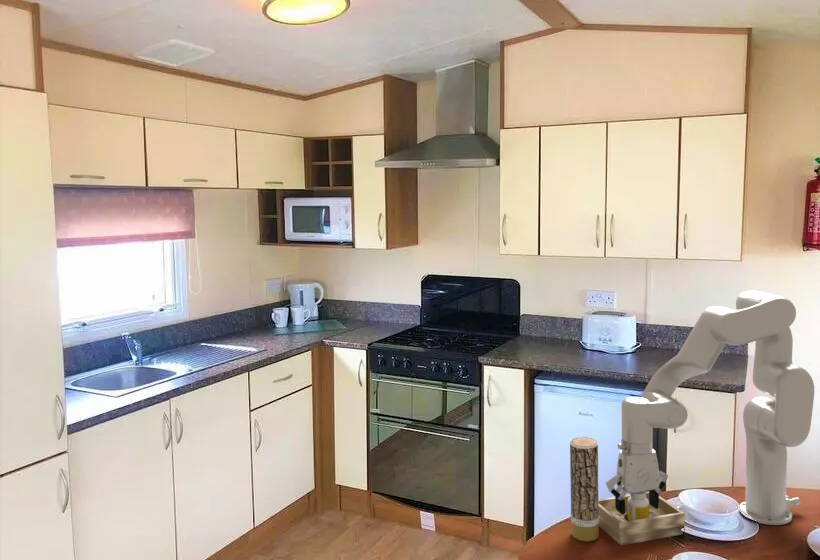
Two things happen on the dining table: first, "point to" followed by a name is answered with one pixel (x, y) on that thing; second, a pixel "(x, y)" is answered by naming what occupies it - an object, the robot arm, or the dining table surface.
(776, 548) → the dining table surface
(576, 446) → the brown bark cylinder
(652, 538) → the pine box
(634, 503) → the supplement bottle
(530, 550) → the dining table surface
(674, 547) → the dining table surface
